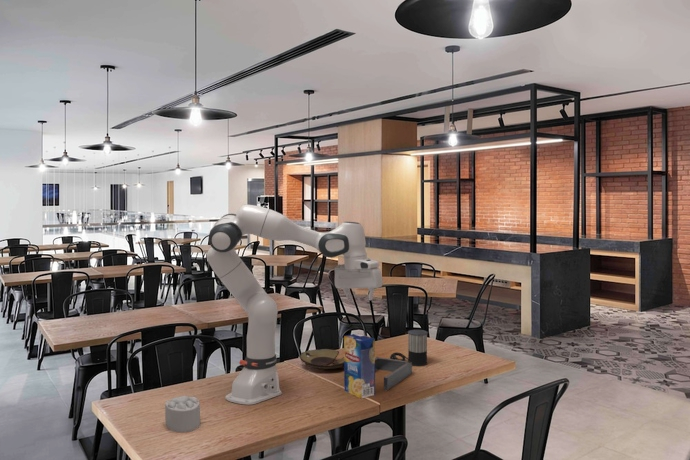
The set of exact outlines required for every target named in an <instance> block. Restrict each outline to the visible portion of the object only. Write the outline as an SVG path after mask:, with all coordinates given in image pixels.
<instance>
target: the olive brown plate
mask: <svg viewBox="0 0 690 460" xmlns="http://www.w3.org/2000/svg"><path fill="white" fill-rule="evenodd" d="M339 354H340V351H339V350H336V349H331V348H330V349H329V348H321V349H320V348H319V349H311V350H309V349H308V350H306V351H303V352H301V354H300V355H299V356H300V357H299V359H300V361H301V362H302V363H304V364H306V365H308V366H310V367H312V368H316V369H320V370H333V369H339V368H343V369H344V356H343V357H342V358H341V357H340V358H339V359H337V360H336V358H337V357H338V356H339Z"/></svg>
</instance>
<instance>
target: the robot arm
mask: <svg viewBox="0 0 690 460" xmlns="http://www.w3.org/2000/svg"><path fill="white" fill-rule="evenodd" d="M248 234H250V235H253V236H255V237H256V236H257V237H259V238H262V239H265V240H271V241H279V242H282V241H292V242H296V243H300V244H303V245H306V246H310V247H312V248H315V249H316V250H318V251H319V253H320V254H321V255H322V256H324V257H326V258H330V259H333V258H337V257H338V256H341V255H343V262H344V264H337V265H336V266H334V286H335V288H336V289H339V290H340V289H342V290H343V291H342V292H343V293H344V295H345V296H346V297H345V298H346V301H351V300H353V295H352V294H351V293H350V289H368V290H367V291H368V294H367V295H366V301H373V298H374V297H373V295H374V293H375V289H379V288H382V286H383V284H384V281H383V276H382V275H383V274H382V271H381V269H380V268H379V267H380V262H379V260H375V259H372V258H369V257H368V255H367V254H368V253H367V251H366V245H367V241H366V235H365V230H364V226H363V225H362V223H359V222H356V221H343V222H342V223H341V224H340V225H338V226H337V227H336V228H334V229H332V230H329V231H316V230H313V229H310V228H308V227H304V226H301V225H299V224H297V223H295V222H294V221H293V220H292V219H290V218H289V217H287V216H285V214H283V213H280V212H278V211H276V210H273V209H271V208H267V207H263V206H259V205H255V204H243V205H241V206H240V207H239V208H238V209H237V212H236V213H226V214H224V215H223V216H221V217H220V218H219V219H218V220H217V221H216V222H215V223H214V225H213V227H212V228H211V229H210V231H209V234H208V243H209V245H210V248H209V249H208V251H207V252H206V256H205V257H206V260H207V262H208V264H209V266H210V267H211V269H212V271H213V272H214V274H215V275H216V276H217V278H218V279H219V281H221V282H222V284H223V285H224V287H225V288H226V289H227V290H228V291H229V293H230V294H231V295H232V296H233V298H234V299H235V300H236V301H237V303H238V304H239V306H240V307H241V308H242V309H243V310H244V312H245V313H246V314H247V317H248V325H247V334H246V355H245V359H244V360H243V359H240V360H239V365H240V366H243V368H242V369H241V371H240V372H239V373H238V375H237V376H236V377H235V379H233V381H232V383H231V385H232V386H231V392H229V393H228V394H226V395H225V400H226V401H228V402H231V403H234V404H240V405H249V406H250V405H252V406H253V405H256V404H258V403H261V402H264V401H267V400H270V399H272V398H275V397H278V396H282V390H281V389H280V382H279V373H278V371H277V368H276V366H277V355H276V329H277V323H278V320H277V319H278V312H279V311H278V305H277V302H276V301H275V300H274V298H272V297H271V296H270V295H269V294H268V293H267V292H266V290H264V288H263V286H262V285H261V284H260V283H259V281H258V280H257V278H256V277H255V275H254V274H253V273H252V271H251V270H250V269H249V268H248V266H247V265H246V264H245V262H244V260H243V259H241V257H240V256H239V254H238V253H237V252H236V248H235V247H236V246H237V245H238V244H239V243H240V241H241V240H242V237H244V235H248Z"/></svg>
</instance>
